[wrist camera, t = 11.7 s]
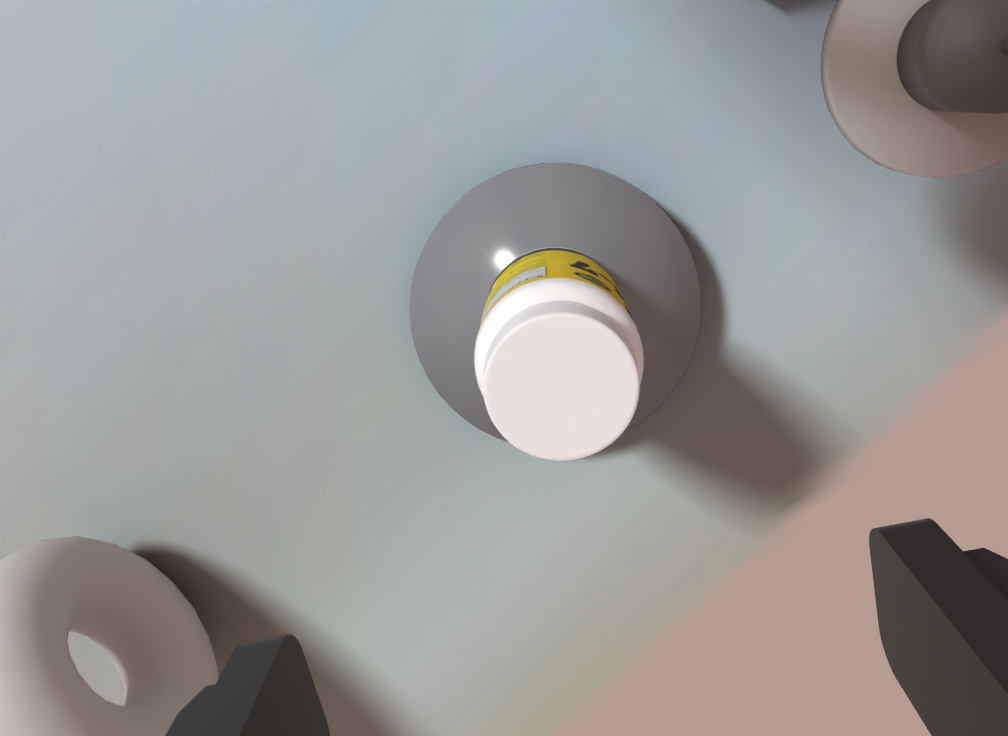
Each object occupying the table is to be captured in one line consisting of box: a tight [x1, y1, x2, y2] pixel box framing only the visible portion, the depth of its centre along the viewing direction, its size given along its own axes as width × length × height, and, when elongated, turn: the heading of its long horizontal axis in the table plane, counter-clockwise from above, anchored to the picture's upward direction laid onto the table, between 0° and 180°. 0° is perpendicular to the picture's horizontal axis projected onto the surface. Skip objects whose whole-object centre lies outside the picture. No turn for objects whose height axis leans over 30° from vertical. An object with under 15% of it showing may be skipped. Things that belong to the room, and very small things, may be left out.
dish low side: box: [410, 163, 702, 442], centre depth 31 cm, size 10×10×1 cm
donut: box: [0, 536, 218, 736], centre depth 30 cm, size 10×4×10 cm, turn 37°
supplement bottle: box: [474, 247, 644, 461], centre depth 26 cm, size 5×5×8 cm
